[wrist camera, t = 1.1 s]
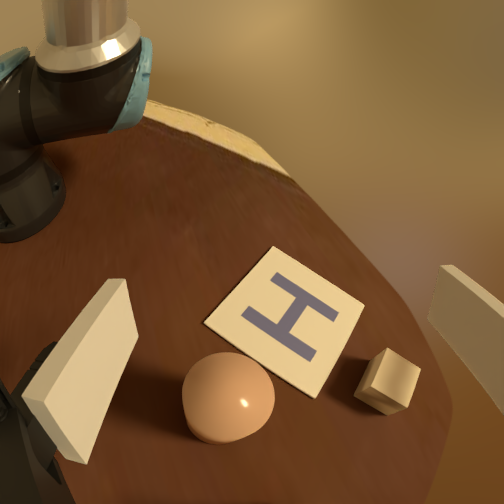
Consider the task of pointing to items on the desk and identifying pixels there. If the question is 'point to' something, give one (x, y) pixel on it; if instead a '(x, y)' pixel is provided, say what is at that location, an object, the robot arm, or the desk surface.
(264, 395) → the terracotta canister
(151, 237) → the desk surface
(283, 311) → the letter card
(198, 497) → the desk surface
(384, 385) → the ash block
